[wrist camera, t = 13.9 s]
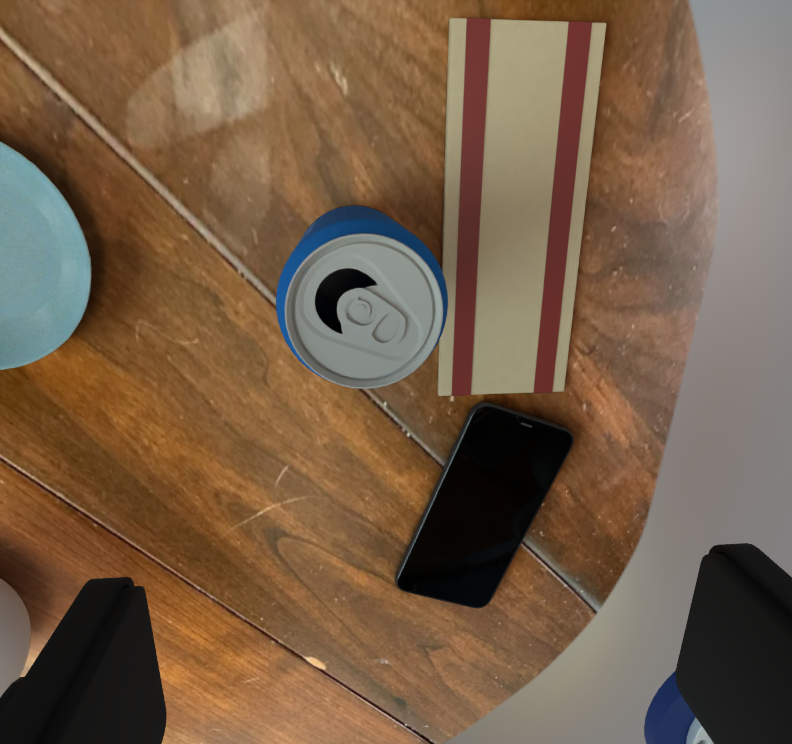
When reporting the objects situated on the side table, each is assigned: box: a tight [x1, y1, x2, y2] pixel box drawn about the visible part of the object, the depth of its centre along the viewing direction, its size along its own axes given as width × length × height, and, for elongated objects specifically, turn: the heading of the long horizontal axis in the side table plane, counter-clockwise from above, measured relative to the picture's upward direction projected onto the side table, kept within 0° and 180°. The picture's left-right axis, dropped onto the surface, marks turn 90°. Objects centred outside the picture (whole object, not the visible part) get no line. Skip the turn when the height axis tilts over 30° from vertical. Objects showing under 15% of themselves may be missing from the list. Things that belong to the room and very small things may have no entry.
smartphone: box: [395, 402, 574, 608], centre depth 36 cm, size 7×1×15 cm
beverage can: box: [276, 206, 448, 389], centre depth 25 cm, size 6×6×12 cm
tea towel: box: [438, 18, 606, 396], centre depth 30 cm, size 8×20×1 cm, turn 0°
